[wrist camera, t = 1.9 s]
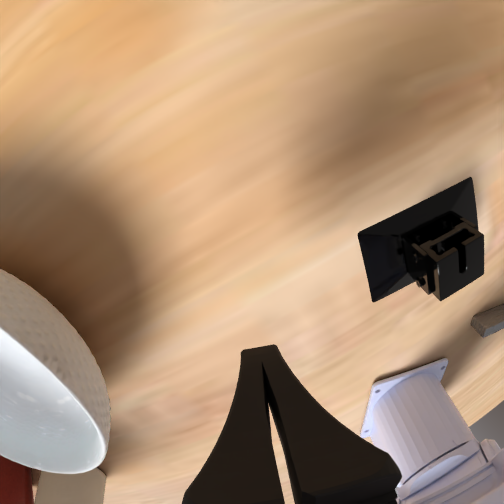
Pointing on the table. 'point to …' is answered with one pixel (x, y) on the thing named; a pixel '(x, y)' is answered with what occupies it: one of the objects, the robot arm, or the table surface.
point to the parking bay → (489, 321)
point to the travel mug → (71, 488)
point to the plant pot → (15, 483)
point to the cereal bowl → (48, 387)
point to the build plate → (426, 246)
